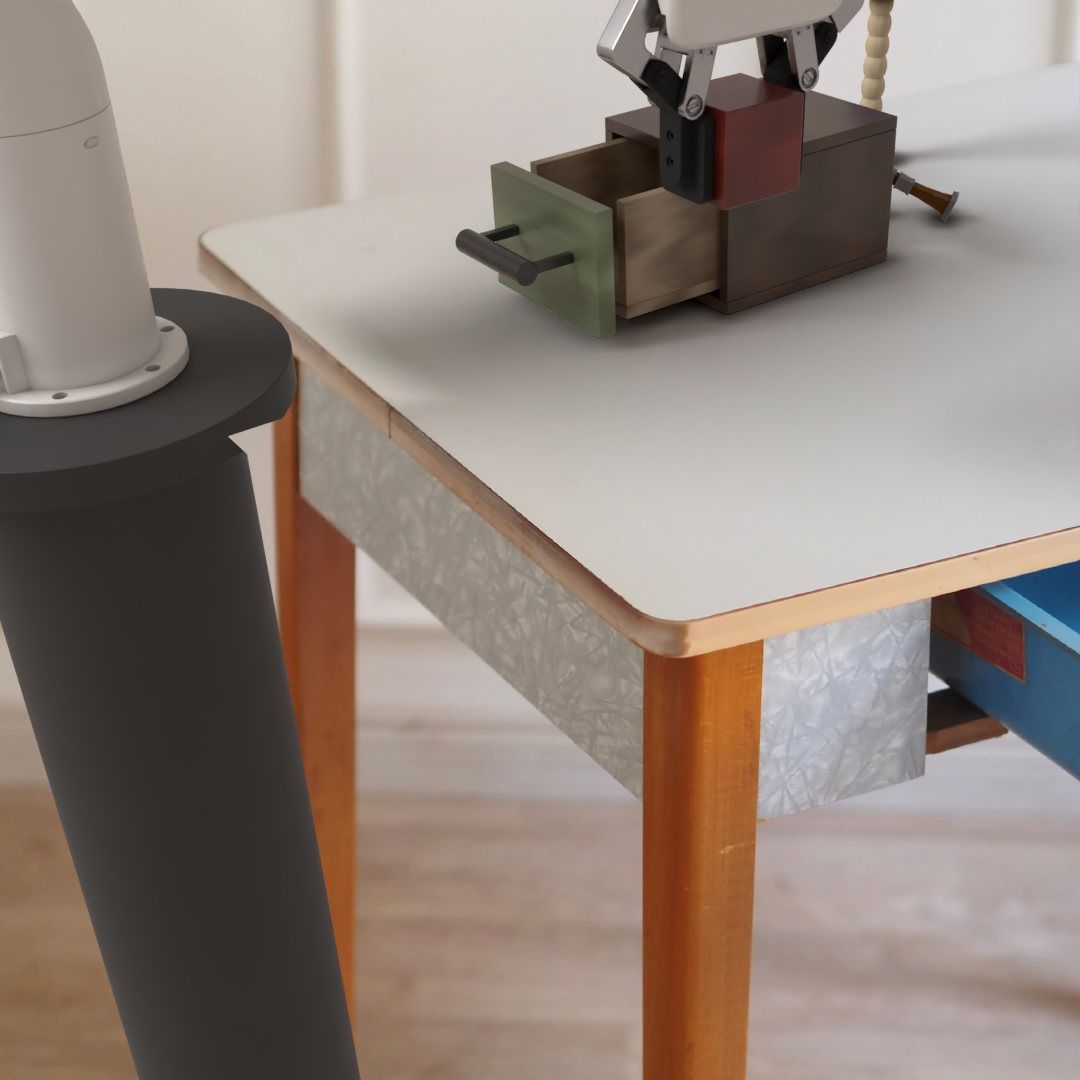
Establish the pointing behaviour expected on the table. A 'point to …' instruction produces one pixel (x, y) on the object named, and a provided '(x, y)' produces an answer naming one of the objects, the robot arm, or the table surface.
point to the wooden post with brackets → (925, 194)
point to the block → (754, 139)
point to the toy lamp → (876, 53)
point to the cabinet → (802, 205)
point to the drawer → (597, 235)
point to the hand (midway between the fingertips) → (731, 179)
